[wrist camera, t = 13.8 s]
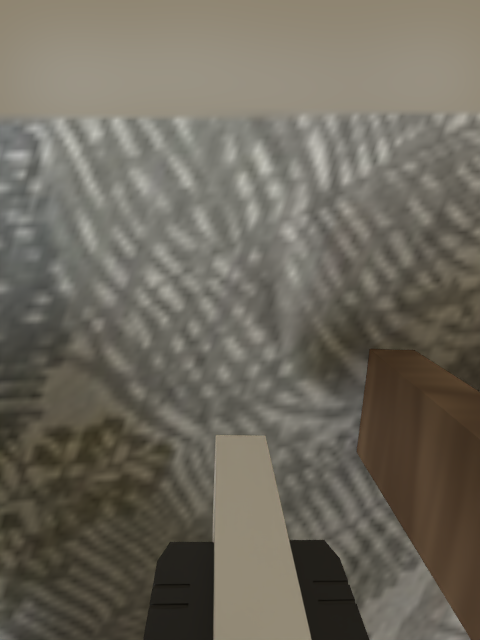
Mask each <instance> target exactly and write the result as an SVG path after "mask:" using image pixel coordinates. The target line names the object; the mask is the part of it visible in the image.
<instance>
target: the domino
mask: <svg viewBox="0 0 480 640" xmlns="http://www.w3.org/2000/svg"><path fill="white" fill-rule="evenodd" d="M357 454H358V455H359V457H360V458H361V460H362V462H363V463H364V465H365V467H366V468H367V470H368V472H369V473H370V475H371V477H372V478H373V480H374V481H375V483H376V485H377V486H378V488H379V490H380V491H381V493H382V495H383V496H384V498H385V499H386V501H387V503H388V504H389V506H390V508H391V509H392V511H393V513H394V514H395V516H396V517H397V519H398V521H399V522H400V524H401V526H402V527H403V529H404V531H405V532H406V534H407V535H408V537H409V539H410V540H411V542H412V544H413V545H414V547H415V549H416V550H417V552H418V553H419V555H420V557H421V558H422V560H423V562H424V563H425V565H426V567H427V568H428V570H429V571H430V573H431V575H432V576H433V578H434V580H435V581H436V583H437V585H438V586H439V588H440V590H441V591H442V593H443V594H444V596H445V598H446V599H447V601H448V603H449V604H450V606H451V608H452V609H453V611H454V612H455V614H456V616H457V617H458V619H459V621H460V622H461V624H462V626H463V627H464V629H465V630H466V632H467V634H468V635H469V637H470V639H471V640H480V392H479V391H477V390H476V389H474V388H473V387H471V386H470V385H468V384H466V383H465V382H463V381H462V380H460V379H459V378H457V377H455V376H454V375H452V374H451V373H449V372H448V371H446V370H445V369H443V368H441V367H440V366H438V365H437V364H435V363H434V362H432V361H431V360H429V359H427V358H426V357H424V356H423V355H421V354H420V353H418V352H416V351H415V350H389V349H370V351H369V359H368V367H367V375H366V382H365V390H364V398H363V406H362V414H361V422H360V429H359V437H358V445H357Z"/></svg>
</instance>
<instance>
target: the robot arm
mask: <svg viewBox="0 0 480 640" xmlns="http://www.w3.org/2000/svg"><path fill="white" fill-rule="evenodd" d="M143 640H369V637H368V635H367V632H366V629H365V626H364V624H363V621H362V618H361V615H360V613H359V610H358V607H357V604H355V599H354V596H353V594H352V591H351V588H350V585H348V580H347V577H346V574H345V572H344V569H343V566H342V563H341V561H340V558H339V557H338V556H337V555H336V554H335V552H334V551H333V550H332V549H331V548H330V546H329V545H328V544H327V543H326V542H325V541H324V540H289V538H288V533H287V529H286V524H285V520H284V516H283V511H282V507H281V502H280V498H279V493H278V489H277V485H276V480H275V476H274V471H273V467H272V463H271V458H270V454H269V449H268V445H267V440H266V436H252V435H216V444H215V473H214V502H213V542H170V543H169V545H168V546H167V548H166V549H165V551H164V552H163V554H162V555H161V557H160V558H159V560H158V561H157V566H156V572H155V578H154V583H153V589H152V594H151V600H150V608H149V611H148V617H147V623H146V628H145V634H144V639H143Z"/></svg>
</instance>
